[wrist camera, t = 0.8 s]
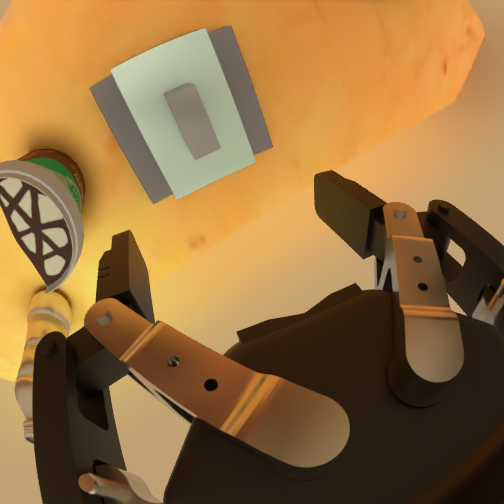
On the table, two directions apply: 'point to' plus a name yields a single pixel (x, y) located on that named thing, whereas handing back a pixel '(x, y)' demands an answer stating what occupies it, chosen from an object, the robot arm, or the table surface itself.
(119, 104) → the rubber mat
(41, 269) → the food container
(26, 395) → the plastic bottle
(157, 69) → the lid
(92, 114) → the table surface
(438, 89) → the table surface
